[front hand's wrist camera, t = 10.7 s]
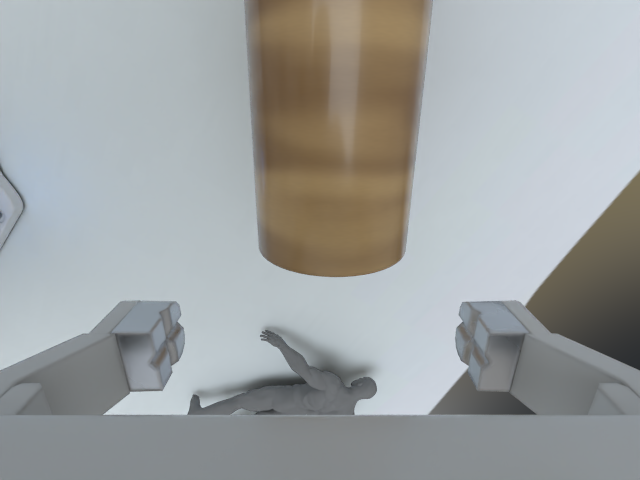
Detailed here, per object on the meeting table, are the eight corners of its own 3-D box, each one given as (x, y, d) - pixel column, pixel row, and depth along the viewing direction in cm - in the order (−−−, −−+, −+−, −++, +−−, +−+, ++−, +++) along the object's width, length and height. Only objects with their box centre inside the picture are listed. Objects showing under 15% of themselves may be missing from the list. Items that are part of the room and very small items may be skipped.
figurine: (238, 454, 44) (396, 427, 40) (227, 490, 40) (400, 463, 36) (174, 350, 39) (350, 306, 34) (154, 380, 35) (350, 334, 31)
